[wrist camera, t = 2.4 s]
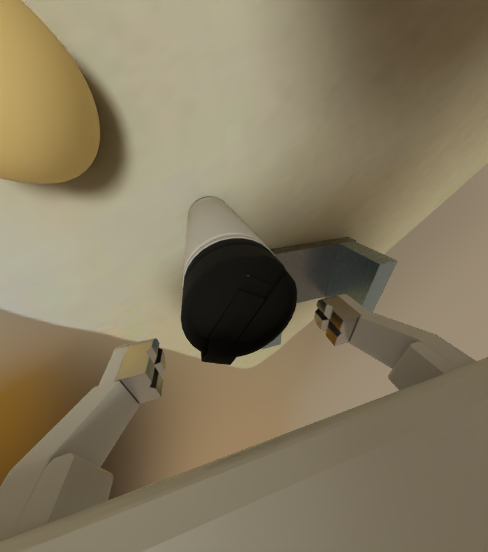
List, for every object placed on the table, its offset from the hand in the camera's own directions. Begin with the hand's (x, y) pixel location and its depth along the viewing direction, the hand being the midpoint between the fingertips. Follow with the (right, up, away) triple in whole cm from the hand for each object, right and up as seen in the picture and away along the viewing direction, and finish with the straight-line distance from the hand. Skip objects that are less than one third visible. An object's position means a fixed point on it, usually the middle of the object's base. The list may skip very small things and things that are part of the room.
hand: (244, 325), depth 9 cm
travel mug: (-5, +11, +16) cm, 20 cm away
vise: (+8, +3, +25) cm, 26 cm away
